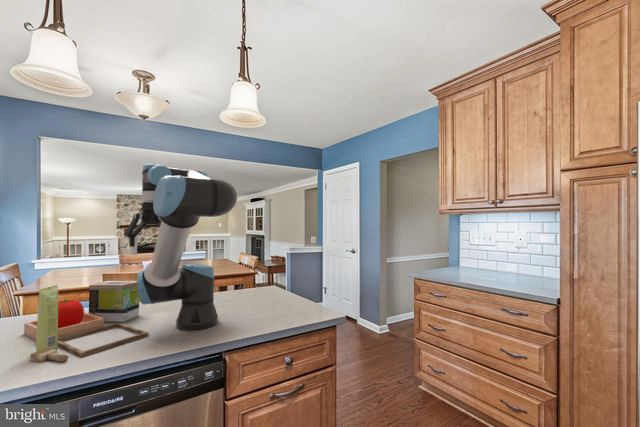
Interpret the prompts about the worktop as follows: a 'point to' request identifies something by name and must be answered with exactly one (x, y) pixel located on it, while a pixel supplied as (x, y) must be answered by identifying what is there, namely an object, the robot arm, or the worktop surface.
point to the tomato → (69, 313)
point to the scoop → (48, 355)
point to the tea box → (114, 300)
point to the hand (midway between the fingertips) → (151, 253)
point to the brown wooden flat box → (85, 325)
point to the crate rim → (103, 347)
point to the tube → (47, 319)
